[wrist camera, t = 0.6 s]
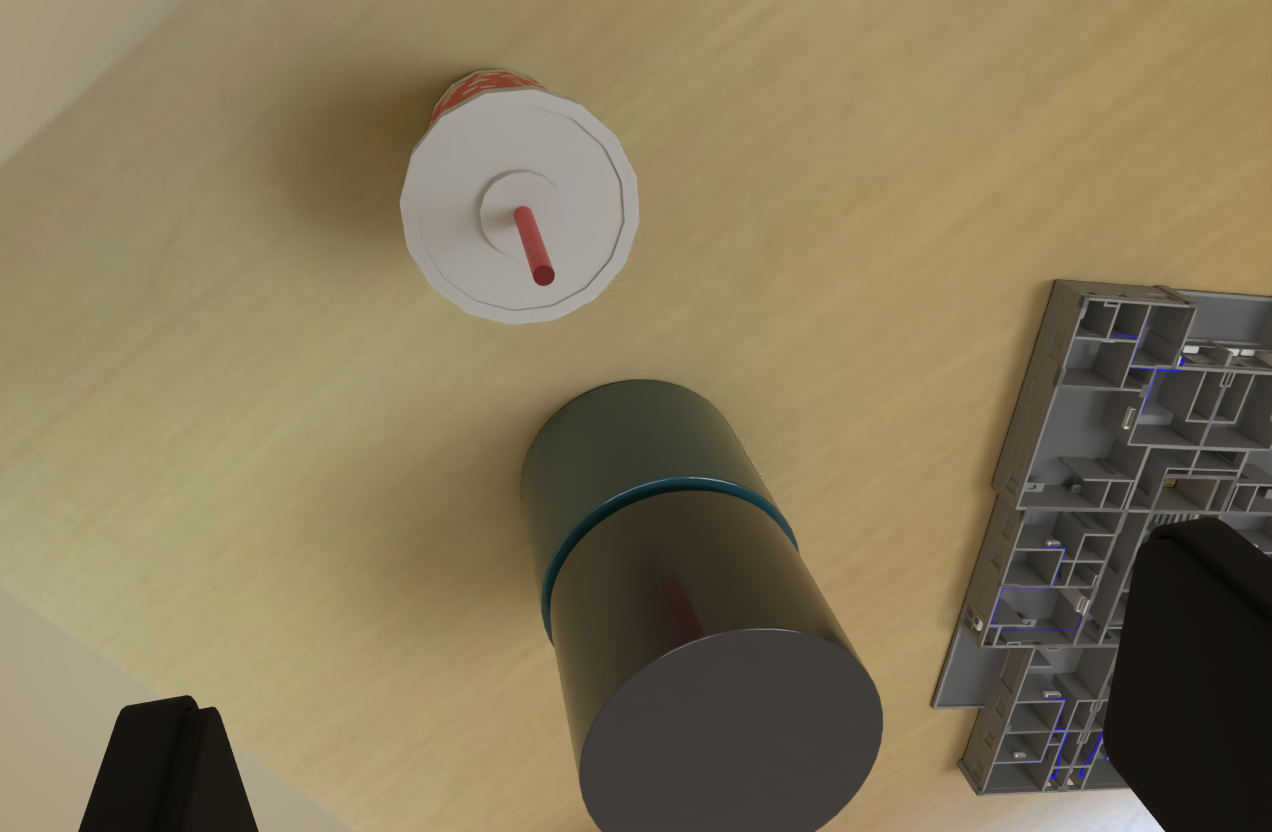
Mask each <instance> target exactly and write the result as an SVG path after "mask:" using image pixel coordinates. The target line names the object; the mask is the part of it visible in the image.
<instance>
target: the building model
mask: <svg viewBox="0 0 1272 832" xmlns="http://www.w3.org/2000/svg"><path fill="white" fill-rule="evenodd" d="M1166 478H1178V481H1177V483H1176V486H1175V488H1163V485H1164V482H1165V480H1166ZM992 487H993V488H994V489H995V490H996V491H997V492H998V493H999V495H998V498H997V501H996V504H995V508H994V511H993V514H992V517H991V520H990V523H989V526H988V530H987V533H986V536H985V539H984V542H983V545H982V548H981V551H980V555H979V558H978V561H977V564H976V567H975V570H974V573H973V577H972V580H971V583H970V586H969V589H968V592H967V595H966V598H965V602H964V605H963V608H962V611H961V614H960V617H959V620H958V624H957V627H956V630H955V633H954V636H953V639H952V642H951V645H950V649H949V652H948V655H947V658H946V661H945V664H944V667H943V671H942V674H941V677H940V680H939V683H938V686H937V689H936V692H935V696H934V699H933V702H932V705H931V707H932V708H933V709H971V708H981V709H980V712H979V715H978V718H977V721H976V724H975V726H974V729H973V732H972V735H971V738H970V741H969V744H968V747H967V750H966V753H965V755H964V758H963V760H959V763H958V767H959V769H960V770H961V772H962V773H963V775H964V777H965V778H966V780H967V781H968V783H969V785H970V786H971V788H972V789H973V791H975V793H976V795H977V796H984V795H1007V794H1029V793H1051V792H1074V791H1096V790H1118V789H1131V788H1130V787H1129V786H1128V784H1127V783H1126V782H1125V781H1124V779H1123V778H1122V777H1121V776H1120V774H1119V773H1118V772H1117V771H1116V769H1115V768H1114V767H1113V765H1112V764H1111V762H1110V760H1109V758H1108V756H1107V754H1106V751H1105V747H1104V744H1103V736H1102V735H1103V726H1104V720H1105V715H1106V710H1107V705H1108V699H1109V694H1110V689H1111V684H1112V678H1113V673H1114V668H1115V663H1116V657H1117V652H1118V647H1119V642H1120V636H1121V631H1122V626H1123V621H1124V615H1125V610H1126V605H1127V600H1128V595H1129V589H1130V584H1131V579H1132V574H1133V568H1134V563H1135V558H1136V554H1137V551H1138V548H1139V547H1140V545H1141V544H1142V543H1145V542H1147V541H1148V538H1149V535H1150V533H1151V532H1152V531H1153V530H1154V528H1155V527H1158V526H1160V525H1164V524H1169V523H1175V522H1181V521H1186V520H1192V519H1198V518H1204V517H1214V518H1218V519H1220V520H1221V521H1223V522H1225V523H1226V524H1228V525H1229V526H1230V527H1232V528H1233V529H1234V530H1235V531H1237V532H1238V533H1239V534H1240V535H1242V536H1243V537H1244V538H1246V539H1247V540H1248V541H1249V542H1251V543H1252V544H1253V545H1254V546H1256V547H1257V548H1258V549H1260V550H1261V551H1262V552H1263V553H1265V554H1266V555H1267V556H1268V557H1270V558H1271V559H1272V297H1269V296H1257V295H1244V294H1232V293H1219V292H1207V291H1194V290H1181V289H1171V288H1169V287H1167V286H1157V287H1144V286H1131V285H1119V284H1106V283H1093V282H1081V281H1068V280H1056V282H1055V285H1054V288H1053V292H1052V295H1051V298H1050V301H1049V304H1048V307H1047V311H1046V314H1045V317H1044V320H1043V323H1042V327H1041V330H1040V333H1039V336H1038V339H1037V342H1036V346H1035V349H1034V352H1033V355H1032V358H1031V362H1030V365H1029V368H1028V371H1027V374H1026V377H1025V381H1024V384H1023V387H1022V390H1021V393H1020V396H1019V400H1018V403H1017V406H1016V409H1015V412H1014V416H1013V419H1012V422H1011V425H1010V428H1009V431H1008V435H1007V438H1006V441H1005V444H1004V447H1003V451H1002V454H1001V457H1000V460H999V463H998V466H997V470H996V473H995V476H994V479H993V482H992ZM1069 778H1070V779H1071V781H1072V782H1073V783H1074V785H1067V782H1068V779H1069ZM1048 781H1049V783H1050V784H1051V785H1052V786H1047V783H1048Z"/></svg>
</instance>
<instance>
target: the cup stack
mask: <svg viewBox="0 0 1272 832" xmlns="http://www.w3.org/2000/svg"><path fill="white" fill-rule="evenodd" d="M521 499H522V505H523V511H524V516H525V522H526V528H527V533H528V539H529V545H530V550H531V556H532V562H533V567H534V573H535V579H536V584H537V590H538V596H539V601H540V607H541V613H542V617H543V622H544V627H545V630H546V632H547V635H548V637H549V640H550V642H551V643H552V645H553V647H554V649H555V654H556V660H557V665H558V670H559V676H560V681H561V687H562V692H563V697H564V703H565V708H566V713H567V719H568V724H569V730H570V735H571V740H572V746H573V751H574V757H575V762H576V767H577V773H578V778H579V784H580V788H581V793H582V798H583V801H584V803H585V806H586V808H587V811H588V813H589V815H590V816H591V818H592V819H593V821H594V822H595V824H596V825H597V827H598V828H599V829H600V830H601V831H602V832H816V831H817V830H818V829H820V828H821V827H823V826H824V825H825V824H827V823H828V822H829V821H830V820H831V819H832V818H834V817H835V816H836V815H837V814H838V813H839V812H840V811H841V810H842V809H843V808H844V807H845V806H846V805H847V804H848V803H849V802H850V801H851V799H852V798H853V797H854V796H855V794H856V793H857V792H858V791H859V789H860V788H861V786H862V785H863V783H864V782H865V780H866V778H867V777H868V775H869V773H870V771H871V769H872V767H873V765H874V762H875V760H876V758H877V755H878V751H879V748H880V744H881V739H882V731H883V711H882V706H881V701H880V697H879V694H878V691H877V689H876V686H875V684H874V682H873V680H872V679H871V677H870V675H869V673H868V672H867V670H866V668H865V667H864V665H863V663H862V661H861V660H860V658H859V656H858V655H857V653H856V651H855V649H854V648H853V646H852V644H851V643H850V641H849V639H848V637H847V636H846V634H845V632H844V631H843V629H842V627H841V625H840V624H839V622H838V620H837V619H836V617H835V615H834V613H833V612H832V610H831V608H830V607H829V605H828V603H827V601H826V600H825V598H824V596H823V595H822V593H821V591H820V589H819V588H818V586H817V584H816V583H815V581H814V579H813V577H812V576H811V574H810V572H809V571H808V569H807V567H806V565H805V564H804V562H803V560H802V559H801V557H800V554H799V549H798V545H797V541H796V539H795V537H794V534H793V532H792V529H791V528H790V526H789V524H788V523H787V521H786V519H785V518H784V516H783V514H782V513H781V511H780V509H779V508H778V506H777V504H776V502H775V501H774V499H773V497H772V496H771V494H770V492H769V491H768V489H767V487H766V486H765V484H764V482H763V481H762V479H761V477H760V476H759V474H758V472H757V471H756V469H755V467H754V465H753V464H752V462H751V460H750V459H749V457H748V455H747V454H746V452H745V450H744V449H743V447H742V445H741V444H740V442H739V440H738V439H737V437H736V435H735V434H734V432H733V430H732V429H731V427H730V425H729V424H728V422H727V420H726V419H725V418H724V417H723V415H722V414H721V413H720V412H719V411H718V410H717V409H716V408H715V407H714V406H713V405H712V404H711V403H710V402H708V401H707V400H706V399H704V398H702V397H701V396H699V395H698V394H696V393H694V392H692V391H690V390H688V389H686V388H683V387H680V386H677V385H674V384H670V383H665V382H659V381H647V380H636V381H625V382H620V383H614V384H610V385H607V386H604V387H601V388H597V389H595V390H593V391H591V392H588V393H586V394H584V395H582V396H580V397H579V398H577V399H575V400H574V401H572V402H570V403H569V404H568V405H566V406H565V407H564V408H563V409H561V410H560V411H559V412H557V413H556V414H555V415H554V417H553V418H552V419H551V420H550V421H549V422H548V423H547V424H546V425H545V426H544V428H543V429H542V430H541V431H540V433H539V434H538V436H537V437H536V439H535V441H534V442H533V444H532V446H531V448H530V450H529V453H528V455H527V458H526V460H525V464H524V468H523V472H522V480H521Z"/></svg>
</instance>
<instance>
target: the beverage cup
mask: <svg viewBox="0 0 1272 832" xmlns="http://www.w3.org/2000/svg"><path fill="white" fill-rule="evenodd" d="M400 208H401V214H402V220H403V227H404V233H405V239H406V245H407V249H408V251H409V253H410V254H411V256H412V257H413V259H414V261H415V262H416V264H417V265H418V267H419V269H420V270H421V272H422V273H423V275H424V276H425V278H426V280H427V281H428V283H429V284H430V286H431V288H433V289H434V290H435V291H437V292H438V293H440V294H441V295H442V296H444V297H445V298H447V299H448V300H449V301H451V302H452V303H453V304H455V305H456V306H458V307H459V308H460V309H462V310H463V311H465V312H466V313H467V314H469V315H473V316H477V317H481V318H485V319H489V320H493V321H497V322H501V323H505V324H509V325H519V324H527V323H536V322H544V321H552V320H557V319H559V318H561V317H563V316H565V315H567V314H569V313H571V312H573V311H574V310H576V309H578V308H580V307H582V306H584V305H586V304H588V303H589V302H591V301H593V300H595V299H596V298H597V297H598V296H599V295H600V294H601V293H602V291H603V290H604V289H605V288H606V287H607V286H608V284H609V283H610V282H611V281H612V280H613V279H614V278H615V276H616V275H617V274H618V273H619V272H620V271H621V269H622V268H623V267H624V266H625V264H626V261H627V258H628V255H629V252H630V249H631V246H632V244H633V241H634V238H635V235H636V232H637V229H638V226H639V223H640V221H639V204H638V186H637V177H636V175H635V172H634V170H633V168H632V166H631V164H630V162H629V160H628V158H627V156H626V154H625V152H624V150H623V148H622V146H621V144H620V142H619V140H618V138H617V136H616V134H615V133H614V132H612V131H611V130H610V129H609V128H608V127H607V126H606V125H604V124H603V123H602V122H601V121H600V120H599V119H597V118H596V117H595V116H594V115H593V114H592V113H591V112H589V111H588V110H587V109H586V108H585V107H584V106H583V105H581V104H580V103H579V102H577V101H576V100H574V99H571V98H568V97H565V96H562V95H559V94H556V93H553V92H550V91H548V90H546V89H545V88H544V87H543V86H541V85H540V84H539V83H537V82H536V81H535V80H534V79H532V78H531V77H528V76H525V75H522V74H519V73H516V72H513V71H510V70H507V69H494V70H482V71H475V72H473V73H471V74H470V75H468V76H466V77H464V78H462V79H460V80H459V81H457V82H455V83H453V84H451V86H450V87H449V88H448V89H447V91H446V92H445V93H444V95H443V96H442V97H441V98H440V100H439V101H438V102H437V104H436V105H435V106H434V109H433V113H432V117H431V120H430V124H429V128H428V130H427V132H426V133H425V134H424V136H423V137H422V138H421V139H420V141H419V142H418V143H417V145H416V146H415V147H414V148H413V150H412V153H411V157H410V161H409V165H408V169H407V173H406V177H405V181H404V185H403V189H402V192H401V196H400Z"/></svg>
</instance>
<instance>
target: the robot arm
mask: <svg viewBox="0 0 1272 832" xmlns="http://www.w3.org/2000/svg"><path fill="white" fill-rule="evenodd" d="M1102 736H1103V744H1104V747H1105V751H1106V754H1107V756H1108V758H1109V760H1110V762H1111V764H1112V765H1113V767H1114V768H1115V769H1116V771H1117V772H1118V773H1119V774H1120V776H1121V777H1122V778H1123V779H1124V781H1125V782H1126V783H1127V784H1128V786H1129V787H1130V788H1131V789H1132V791H1133V792H1134V793H1135V794H1136V796H1137V797H1138V798H1139V799H1140V801H1141V802H1142V803H1143V804H1144V806H1145V807H1146V808H1147V810H1148V811H1149V812H1150V813H1151V815H1152V816H1153V817H1154V818H1155V820H1156V821H1157V822H1158V823H1159V825H1160V826H1161V827H1162V828H1163V830H1164V831H1165V832H1272V559H1271V558H1270V557H1268V556H1267V555H1266V554H1265V553H1263V552H1262V551H1261V550H1260V549H1258V548H1257V547H1256V546H1254V545H1253V544H1252V543H1251V542H1249V541H1248V540H1247V539H1246V538H1244V537H1243V536H1242V535H1240V534H1239V533H1238V532H1237V531H1235V530H1234V529H1233V528H1232V527H1230V526H1229V525H1228V524H1226V523H1225V522H1223V521H1221V520H1220V519H1218V518H1214V517H1204V518H1198V519H1192V520H1186V521H1181V522H1175V523H1169V524H1164V525H1160V526H1158V527H1155V528H1154V530H1153V531H1152V532H1151V533H1150V535H1149V538H1148V541H1147V542H1145V543H1142V544H1141V545H1140V547H1139V548H1138V551H1137V554H1136V558H1135V563H1134V568H1133V574H1132V579H1131V584H1130V589H1129V595H1128V600H1127V605H1126V610H1125V615H1124V621H1123V626H1122V631H1121V636H1120V642H1119V647H1118V652H1117V657H1116V663H1115V668H1114V673H1113V678H1112V684H1111V689H1110V694H1109V699H1108V705H1107V710H1106V715H1105V720H1104V726H1103V735H1102ZM78 832H258V829H257V826H256V822H255V819H254V817H253V814H252V810H251V807H250V805H249V801H248V798H247V795H246V792H245V789H244V786H243V783H242V780H241V777H240V774H239V771H238V768H237V764H236V761H235V758H234V756H233V752H232V749H231V746H230V743H229V740H228V737H227V734H226V731H225V728H224V725H223V722H222V719H221V716H220V714H219V711H218V710H217V709H216V708H215V707H209V708H203V709H199V708H198V706H197V703H196V701H195V700H194V699H193V698H192V696H188V695H185V696H180V697H174V698H168V699H163V700H157V701H151V702H145V703H140V704H134V705H129V706H125V707H124V708H123V709H122V710H121V711H120V713H119V716H118V718H117V720H116V723H115V726H114V729H113V732H112V735H111V738H110V741H109V743H108V747H107V750H106V752H105V755H104V758H103V761H102V764H101V767H100V770H99V773H98V776H97V779H96V781H95V784H94V787H93V790H92V793H91V796H90V799H89V802H88V805H87V808H86V811H85V814H84V817H83V820H82V822H81V825H80V828H79V831H78Z"/></svg>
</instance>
